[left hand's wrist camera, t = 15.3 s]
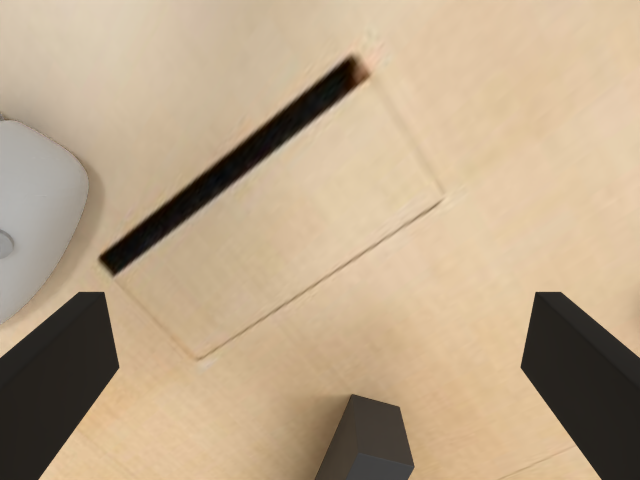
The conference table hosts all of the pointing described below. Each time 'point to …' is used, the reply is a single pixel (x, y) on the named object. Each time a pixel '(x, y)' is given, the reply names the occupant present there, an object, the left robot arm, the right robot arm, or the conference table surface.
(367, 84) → the conference table surface
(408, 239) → the conference table surface
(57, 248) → the projector
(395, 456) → the bar
